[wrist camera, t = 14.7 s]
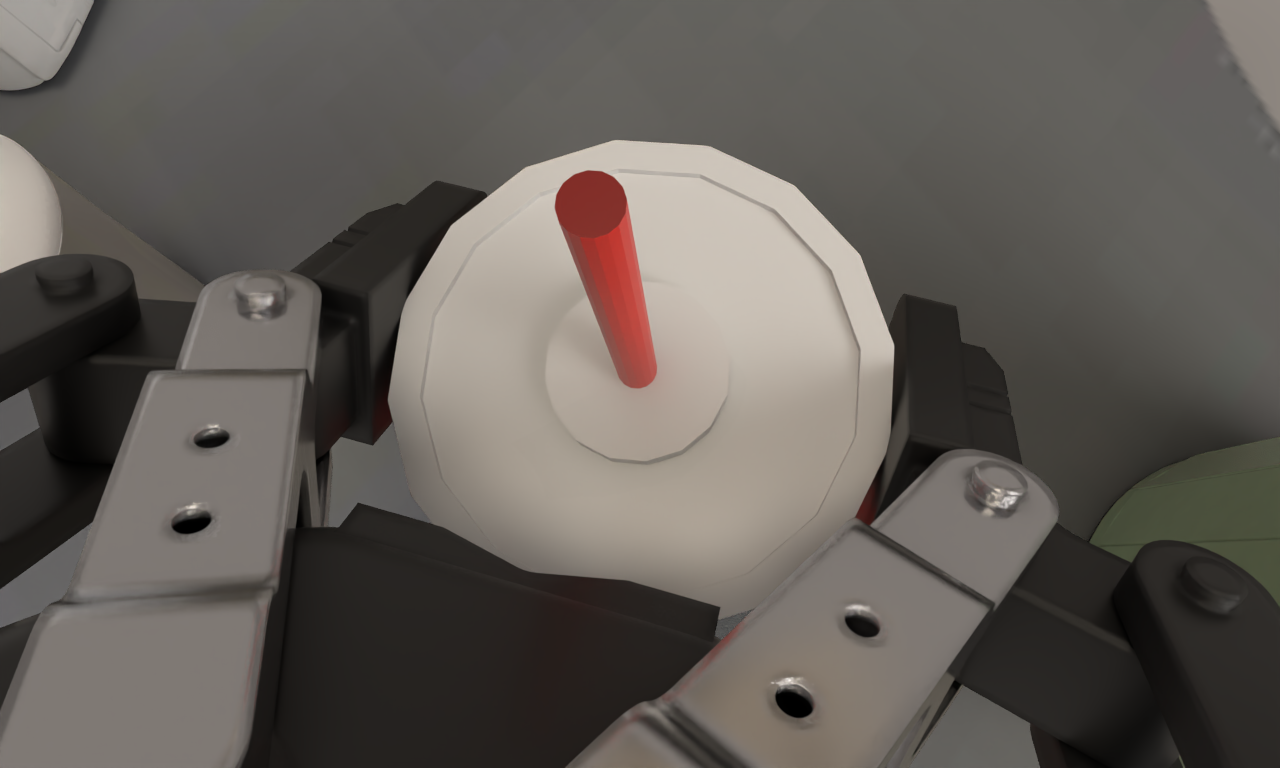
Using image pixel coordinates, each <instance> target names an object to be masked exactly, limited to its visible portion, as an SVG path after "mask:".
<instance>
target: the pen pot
mask: <svg viewBox="0 0 1280 768" xmlns="http://www.w3.org/2000/svg"><path fill="white" fill-rule="evenodd" d="M1158 540H1175V541H1182V542H1186V543H1190V544H1194V545H1197V546H1200V547H1203V548H1206V549H1208V550H1210V551H1212V552H1215V553H1217V554H1219V555H1221V556H1223V557H1225V558H1226V559H1228V560H1230V561H1232V562H1233V563H1235V564H1236V565H1238V566H1239V567H1241V568H1242V569H1244V570H1245V571H1246V572H1248V573H1249V574H1250V575H1252V576H1253V577H1254V578H1255V579H1256V580H1257V581H1258V582H1260V583H1261V584H1262V585H1263V586H1264V587H1265V589H1266V590H1267V591H1268V592H1269V593H1270V594H1271V595H1272V597H1273V598H1274V600H1275V601H1276V602H1277V604H1278V605H1279V607H1280V437H1275V438H1271V439H1266V440H1261V441H1257V442H1252V443H1247V444H1243V445H1238V446H1234V447H1229V448H1224V449H1220V450H1215V451H1210V452H1206V453H1201V454H1197V455H1195V456H1192V457H1191V458H1189V459H1186V460H1183V461H1180V462H1177V463H1174V464H1171V465H1169V466H1167V467H1165V468H1163V469H1161V470H1159V471H1157V472H1155V473H1153V474H1151V475H1149V476H1148V477H1146V478H1145V479H1143V480H1142V481H1140V482H1139V483H1137V484H1136V485H1134V486H1133V487H1132V488H1131V489H1130V490H1128V491H1127V492H1126V493H1125V494H1124V495H1123V496H1122V497H1121V498H1120V499H1119V500H1118V501H1117V502H1116V503H1115V504H1114V505H1113V506H1112V508H1111V509H1110V510H1109V511H1108V513H1107V514H1106V515H1105V516H1104V518H1103V519H1102V521H1101V522H1100V524H1099V526H1098V527H1097V529H1096V531H1095V532H1094V534H1093V536H1092V538H1091V540H1090V543H1091V544H1093V545H1095V546H1097V547H1099V548H1102V549H1104V550H1106V551H1108V552H1110V553H1112V554H1114V555H1116V556H1118V557H1120V558H1123V559H1125V560H1127V561H1129V562H1132V561H1133V559H1134V558H1135V556H1136V555H1137V553H1138V552H1139V550H1140V549H1141V548H1142V547H1143V546H1144V545H1145V544H1147V543H1150V542H1152V541H1158ZM1179 759H1180V762H1181V764H1182V766H1183V768H1185V766H1184V764H1183V761H1182V759H1181V757H1180V756H1179Z"/></svg>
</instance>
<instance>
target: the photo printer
mask: <svg viewBox="0 0 1280 768" xmlns="http://www.w3.org/2000/svg"><path fill="white" fill-rule="evenodd" d="M93 3H94V0H0V90H21V89H27V88H31V87H34V86H37V85H40V84H41V83H42V82H44V80H45V81H46V80H50V79H51V78H52V77H54V75H55V74H56V73H57V72H58V70H59V69H60V67H61V66H62V64H63V62H64V61H65V59H66V58H67V56H68V55H69V53H70V51H71V49H72V47H73V46H74V44H75V41H76V39H77V37H78V36H79V34H80V32H81V29H82V26H83V24H84V22H85V20H86V18H87V16H88V13H89V11H90V9H91V7H92V5H93Z"/></svg>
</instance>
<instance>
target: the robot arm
mask: <svg viewBox="0 0 1280 768" xmlns="http://www.w3.org/2000/svg"><path fill="white" fill-rule="evenodd" d="M486 198H487V195H486V193H485V192H483V191H478V190H474V189H470V188H466V187H462V186H458V185H453V184H449V183H445V182H441V181H435V182H433V183H432V184H431V185H429V186H428V187H427V188H426V189H424V190H423V191H422V192H421V193H419V194H418V195H417V196H416V197H414V198H413V199H412V200H411V201H409V202H408V203H407V204H406V205H402V204H398V203H397V204H394V205H391V206H388V207H384V208H381V209H378V210H375V211H372V212H369V213H367V214H365V215H364V216H363V217H361V218H360V219H359V220H357V221H356V222H355V223H354V224H352V225H351V226H350V227H349V228H348V231H346V230H344V231H343V232H342V233H340V234H339V235H338V236H336V237H335V238H334V239H333V242H332V243H331V242H328V243H327V244H326V245H324V246H323V247H322V248H320V249H319V250H318V251H316V252H315V253H314V254H312V255H311V256H310V257H308V258H307V259H306V260H304V261H303V262H302V263H300V264H299V265H298V266H296V267H295V268H294V269H292V270H291V271H290V272H289V271H284V270H276V269H254V270H245V271H239V272H235V273H231V274H227V275H225V276H222V277H219V278H217V279H216V280H214V281H212V282H210V283H209V284H208V285H206V286H205V287H204V288H203V289H202V291H201V293H200V294H199V297H198V300H197V302H184V301H169V300H155V299H140V298H138V295H137V290H136V285H135V280H134V275H133V272H132V270H131V269H130V268H129V267H128V266H127V265H126V264H124V263H123V262H121V261H119V260H116V259H113V258H110V257H106V256H101V255H93V254H63V255H55V256H49V257H44V258H40V259H36V260H32V261H29V262H26V263H24V264H21V265H19V266H16V267H14V268H11V269H9V270H7V271H4V272H2V273H0V402H2V401H4V400H6V399H8V398H9V397H11V396H13V395H15V394H17V393H18V392H20V391H22V390H24V389H26V388H28V390H29V393H30V396H31V400H32V403H33V406H34V410H35V413H36V416H37V420H38V423H39V426H40V428H38V429H37V430H35V431H33V432H32V433H30V434H28V435H27V436H25V437H23V438H22V439H20V440H18V441H16V442H15V443H13V444H11V445H10V446H8V447H6V448H5V449H3V450H1V451H0V589H1V588H2V587H4V586H5V585H6V584H8V583H9V582H11V581H12V580H13V579H15V578H16V577H17V576H19V575H20V574H22V573H23V572H24V571H26V570H27V569H28V568H30V567H31V566H33V565H34V564H35V563H37V562H38V561H39V560H41V559H42V558H44V557H45V556H46V555H48V554H49V553H50V552H52V551H53V550H55V549H56V548H57V547H59V546H60V545H61V544H63V543H64V542H66V541H67V540H68V539H70V538H71V537H72V536H74V535H75V534H77V533H78V532H79V531H81V530H82V529H83V528H85V527H86V526H88V525H89V524H90V523H92V522H93V523H92V526H91V529H90V531H89V534H88V537H87V539H86V542H85V545H84V548H83V550H82V553H81V556H80V558H79V561H78V564H77V567H76V569H75V572H74V575H73V577H72V580H71V583H70V585H69V588H68V590H67V592H66V593H65V595H64V596H63V598H62V599H60V600H59V601H57V602H54V603H51V604H50V605H48V606H47V607H46V608H45V609H44V610H43V611H42V613H39V614H37V615H34V616H31V617H29V618H26V619H23V620H21V621H18V622H15V623H13V624H10V625H7V626H4V627H2V628H0V768H909V767H910V765H911V764H912V762H913V761H914V759H915V758H916V756H917V755H918V753H919V752H920V750H921V749H922V747H923V746H924V744H925V743H926V741H927V740H928V738H929V737H930V735H931V734H932V732H933V731H934V729H935V728H936V726H937V725H938V723H939V722H940V720H941V719H942V717H943V716H944V715H945V713H946V712H947V710H948V709H949V707H950V706H951V704H952V703H953V701H954V700H955V698H956V697H957V695H958V694H959V692H960V691H961V689H962V688H963V686H966V687H967V688H969V689H971V690H973V691H974V692H976V693H978V694H980V695H982V696H983V697H985V698H987V699H989V700H990V701H992V702H994V703H996V704H997V705H999V706H1001V707H1003V708H1004V709H1006V710H1008V711H1010V712H1012V713H1013V714H1015V715H1017V716H1019V717H1020V718H1022V719H1024V720H1026V721H1027V722H1029V723H1030V731H1031V736H1032V740H1033V744H1034V747H1035V751H1036V754H1037V758H1038V761H1039V765H1040V768H1183V766H1182V764H1181V762H1180V759H1179V756H1180V757H1181V759H1182V761H1183V764H1184V766H1185V768H1280V607H1279V605H1278V604H1277V602H1276V601H1275V600H1274V598H1273V597H1272V595H1271V594H1270V593H1269V592H1268V591H1267V590H1266V589H1265V587H1264V586H1263V585H1262V584H1261V583H1260V582H1258V581H1257V580H1256V579H1255V578H1254V577H1253V576H1252V575H1250V574H1249V573H1248V572H1246V571H1245V570H1244V569H1242V568H1241V567H1239V566H1238V565H1236V564H1235V563H1233V562H1232V561H1230V560H1228V559H1226V558H1225V557H1223V556H1221V555H1219V554H1217V553H1215V552H1212V551H1210V550H1208V549H1206V548H1203V547H1200V546H1197V545H1194V544H1190V543H1186V542H1182V541H1175V540H1158V541H1152V542H1150V543H1147V544H1145V545H1144V546H1143V547H1142V548H1141V549H1140V550H1139V552H1138V553H1137V555H1136V556H1135V558H1134V559H1133V561H1132V562H1129V561H1127V560H1125V559H1123V558H1120V557H1118V556H1116V555H1114V554H1112V553H1110V552H1108V551H1106V550H1104V549H1102V548H1099V547H1097V546H1095V545H1093V544H1091V543H1089V542H1087V541H1085V540H1083V539H1081V538H1079V537H1077V536H1076V535H1074V534H1072V533H1071V532H1069V531H1068V530H1066V529H1064V528H1063V527H1062V526H1060V525H1059V524H1058V523H1056V522H1057V520H1058V518H1059V511H1060V510H1059V505H1058V502H1057V500H1056V497H1055V495H1054V494H1053V492H1052V491H1051V490H1050V488H1049V487H1048V486H1047V485H1046V484H1045V483H1044V482H1043V481H1042V480H1041V479H1040V478H1039V477H1038V476H1037V475H1035V474H1034V473H1032V472H1031V471H1030V470H1028V469H1027V468H1025V467H1023V466H1022V461H1021V456H1020V451H1019V446H1018V441H1017V436H1016V431H1015V426H1014V421H1013V416H1011V415H1010V414H1011V406H1010V401H1009V397H1007V394H1008V391H1007V386H1006V381H1005V376H1004V371H1003V370H1002V369H1001V367H1000V366H999V365H998V364H997V363H996V361H995V360H994V359H993V358H992V357H991V355H990V354H989V353H988V352H987V351H986V349H985V348H982V347H978V346H974V345H969V344H965V343H961V337H960V329H959V322H958V314H957V308H956V306H953V305H949V304H945V303H941V302H936V301H932V300H928V299H924V298H920V297H916V296H912V295H907V294H903V295H902V297H901V298H900V300H899V302H898V305H897V307H896V310H895V312H894V315H893V318H892V321H891V323H890V326H889V329H888V330H889V333H890V335H891V338H892V341H893V343H894V366H893V389H892V412H891V434H890V438H889V443H888V447H887V451H886V454H885V456H884V458H883V461H882V463H881V465H880V467H879V469H878V471H877V473H876V475H875V477H874V479H873V481H872V483H871V485H870V487H869V489H868V491H867V493H866V495H865V497H864V500H863V502H862V504H861V506H860V508H859V510H858V512H857V514H856V516H855V518H852V519H850V520H848V521H847V522H846V523H845V524H843V525H842V526H841V527H840V528H839V529H838V530H837V531H836V532H835V533H834V534H833V535H832V536H831V537H830V538H829V539H827V540H826V541H825V542H824V543H823V544H822V545H821V546H820V547H819V548H818V549H817V550H816V551H815V552H814V553H813V554H812V555H811V556H810V557H809V558H808V559H806V560H805V561H804V562H803V563H802V564H801V565H800V566H799V567H798V568H797V569H796V570H795V571H794V572H793V573H792V574H791V575H790V576H789V577H788V578H787V579H785V580H784V581H783V582H782V583H781V584H780V585H779V586H778V587H777V588H776V589H775V590H774V591H773V592H772V593H771V594H770V595H769V596H768V597H767V598H765V599H764V600H763V601H762V602H761V603H760V604H759V605H758V606H757V607H756V608H755V609H754V610H753V611H752V612H751V613H750V614H749V615H748V616H747V617H746V618H744V619H743V620H742V621H741V622H740V623H739V624H738V625H737V626H736V627H735V628H734V629H733V630H732V631H731V632H730V633H729V634H728V635H727V636H726V637H725V638H723V639H722V640H721V639H719V638H717V637H715V636H714V635H715V630H716V626H717V621H718V617H719V612H720V607H718V606H715V605H712V604H708V603H705V602H701V601H698V600H694V599H691V598H687V597H684V596H680V595H677V594H673V593H670V592H666V591H663V590H659V589H656V588H652V587H649V586H646V585H642V584H639V583H635V582H632V581H628V580H616V579H604V578H593V577H581V576H569V575H557V574H546V573H535V572H529V571H526V570H523V569H520V568H518V567H516V566H514V565H513V564H511V563H509V562H507V561H505V560H503V559H501V558H500V557H498V556H496V555H494V554H492V553H490V552H488V551H487V550H485V549H483V548H481V547H479V546H477V545H475V544H474V543H472V542H470V541H468V540H466V539H464V538H462V537H461V536H459V535H457V534H455V533H453V532H451V531H450V530H448V529H446V528H444V527H441V526H437V525H434V524H430V523H427V522H423V521H420V520H416V519H413V518H409V517H406V516H402V515H399V514H395V513H392V512H388V511H385V510H381V509H378V508H375V507H371V506H368V505H364V504H361V503H358V504H357V505H356V506H355V508H354V509H353V510H352V511H351V513H350V514H349V515H348V517H347V518H346V519H345V520H344V522H343V523H342V524H341V525H340V527H339V528H337V527H328V525H329V511H330V497H331V483H332V469H333V465H332V450H331V447H332V446H333V445H334V444H335V442H336V441H337V440H338V439H339V438H340V437H344V438H348V439H351V440H355V441H359V442H362V443H366V444H369V445H374V443H375V442H376V441H377V440H378V439H379V437H380V436H381V435H382V434H383V433H384V431H385V430H386V429H387V428H388V427H389V425H390V424H391V423H392V422H393V420H392V416H391V412H390V408H389V404H388V395H389V389H390V383H391V376H392V370H393V364H394V358H395V351H396V345H397V339H398V332H399V326H400V320H401V314H402V311H403V308H404V305H405V302H406V300H407V298H408V296H409V295H410V293H411V291H412V290H413V288H414V286H415V285H416V283H417V281H418V280H419V278H420V276H421V275H422V273H423V271H424V270H425V268H426V266H427V265H428V263H429V261H430V260H431V258H432V256H433V255H434V253H435V251H436V250H437V248H438V246H439V245H440V243H441V241H442V240H443V238H444V236H445V235H446V233H447V231H448V230H449V228H450V226H451V225H452V224H453V223H455V222H456V221H457V220H459V219H460V218H461V217H462V216H464V215H465V214H466V213H468V212H469V211H470V210H471V209H473V208H474V207H475V206H477V205H478V204H479V203H480V202H482V201H483V200H484V199H486Z"/></svg>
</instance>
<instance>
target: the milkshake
mask: <svg viewBox="0 0 1280 768" xmlns="http://www.w3.org/2000/svg"><path fill="white" fill-rule="evenodd" d="M63 254H93V255H101V256H106V257H110V258H113V259H116V260H119V261H121V262H123V263H124V264H126V265H127V266H128V267H129V268H130V269H131V270H132V272H133V275H134V280H135V285H136V290H137V295H138V298H140V299H155V300H169V301H184V302H197V300H198V297H199V294H200V293H201V291H202V289H203V288H204V287H205V285H204V284H202V283H201V282H200V281H198V280H197V279H196V278H194V277H193V276H191V275H190V274H189V273H187V272H186V271H185V270H183V269H182V268H180V267H179V266H178V265H176V264H175V263H174V262H172V261H171V260H169V259H168V258H167V257H165V256H164V255H163V254H161V253H160V252H158V251H157V250H156V249H154V248H153V247H152V246H150V245H149V244H147V243H146V242H145V241H143V240H142V239H141V238H139V237H138V236H136V235H135V234H134V233H132V232H131V231H129V230H128V229H127V228H125V227H124V226H122V225H121V224H120V223H118V222H117V221H115V220H114V219H113V218H111V217H110V216H109V215H107V214H106V213H105V212H103V211H102V210H101V209H99V208H98V207H97V206H95V205H94V204H93V203H92V202H90V201H89V200H88V199H87V198H85V197H84V196H83V195H81V194H80V193H79V192H78V191H76V190H75V189H74V188H73V187H71V186H70V185H69V184H67V183H66V182H65V181H64V180H62V179H61V178H60V177H59V176H57V175H56V174H55V173H53V172H52V171H51V170H50V169H48V168H47V167H46V166H45V165H43V164H42V163H41V162H39V161H38V160H37V159H36V158H34V157H33V156H32V155H31V154H30V153H29V152H28V151H27V150H25V149H24V148H23V147H22V146H20V145H19V144H18V143H16V142H15V141H13V140H11V139H9V138H7V137H5V136H3V135H1V134H0V273H2V272H4V271H7V270H9V269H11V268H14V267H16V266H19V265H21V264H24V263H26V262H29V261H32V260H36V259H40V258H44V257H49V256H55V255H63Z"/></svg>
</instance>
